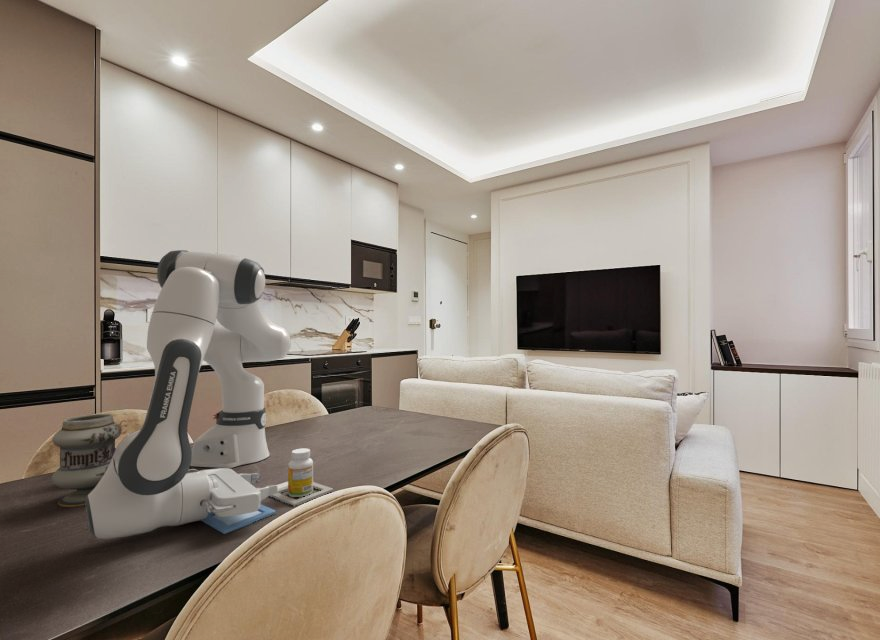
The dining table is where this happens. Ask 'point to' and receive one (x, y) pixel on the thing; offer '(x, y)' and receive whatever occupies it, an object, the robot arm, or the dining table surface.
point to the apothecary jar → (84, 454)
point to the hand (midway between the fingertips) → (267, 482)
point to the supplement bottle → (300, 473)
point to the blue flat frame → (245, 519)
